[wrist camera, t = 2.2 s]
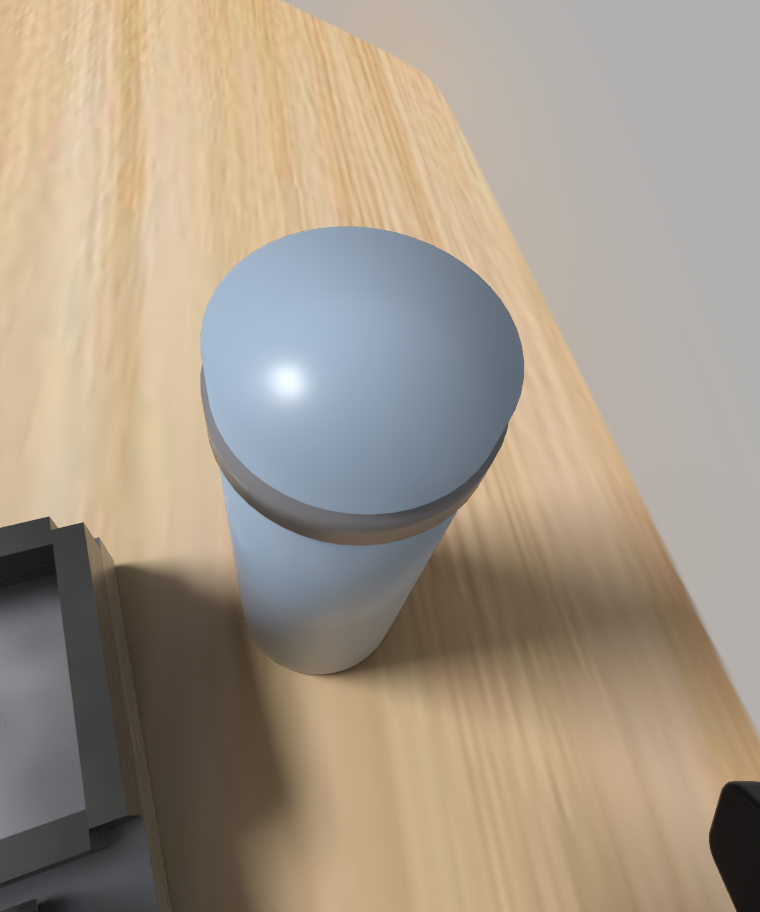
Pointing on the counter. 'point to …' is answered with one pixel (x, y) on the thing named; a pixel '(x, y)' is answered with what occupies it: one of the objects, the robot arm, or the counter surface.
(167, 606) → the counter surface
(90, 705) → the dark grey open box
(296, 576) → the dome-capped cylinder
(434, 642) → the counter surface
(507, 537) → the counter surface
